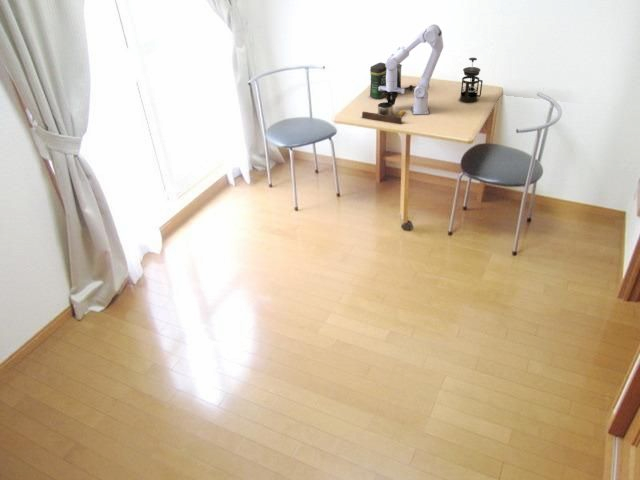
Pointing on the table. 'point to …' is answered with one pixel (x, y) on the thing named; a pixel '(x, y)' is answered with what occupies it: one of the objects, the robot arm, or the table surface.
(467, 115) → the table surface
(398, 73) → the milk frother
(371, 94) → the coffee jar
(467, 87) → the french press
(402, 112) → the knife
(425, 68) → the robot arm
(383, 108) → the steel pot
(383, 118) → the walnut rail
